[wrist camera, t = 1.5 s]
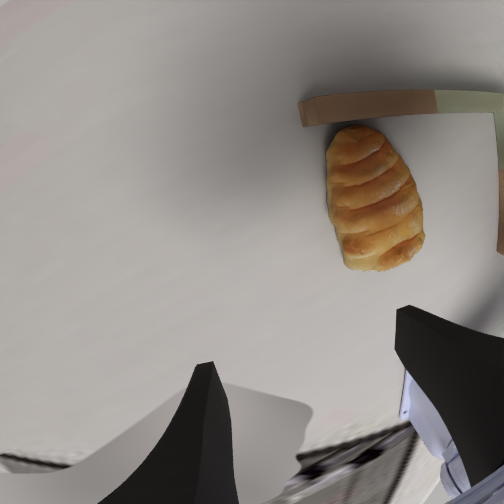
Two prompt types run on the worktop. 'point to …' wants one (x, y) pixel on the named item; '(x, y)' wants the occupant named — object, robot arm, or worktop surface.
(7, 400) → the worktop surface
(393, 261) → the pastry
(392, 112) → the two-tone corner bracket
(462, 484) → the robot arm
